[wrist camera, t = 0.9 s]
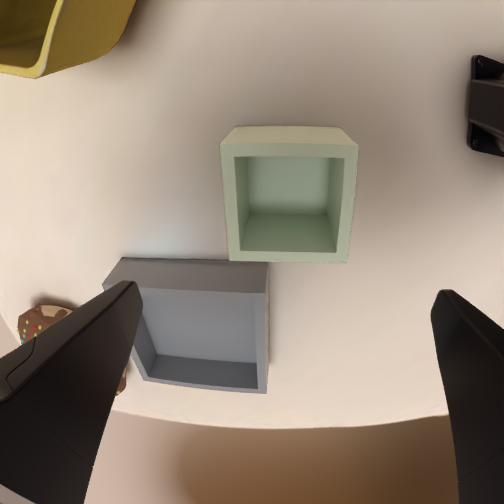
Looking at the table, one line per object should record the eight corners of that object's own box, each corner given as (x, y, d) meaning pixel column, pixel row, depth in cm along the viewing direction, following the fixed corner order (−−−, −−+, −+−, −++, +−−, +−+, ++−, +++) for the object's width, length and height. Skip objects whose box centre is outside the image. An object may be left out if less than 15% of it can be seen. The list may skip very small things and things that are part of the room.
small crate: (339, 127, 16) (358, 146, 12) (334, 219, 20) (346, 263, 15) (236, 126, 17) (219, 143, 13) (241, 218, 20) (229, 260, 16)
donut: (114, 305, 26) (91, 344, 22) (143, 387, 34) (131, 420, 29) (14, 284, 27) (-10, 312, 23) (54, 361, 34) (39, 388, 30)
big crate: (268, 261, 22) (265, 293, 19) (268, 363, 28) (266, 393, 25) (121, 257, 23) (101, 284, 20) (154, 353, 29) (143, 380, 26)
